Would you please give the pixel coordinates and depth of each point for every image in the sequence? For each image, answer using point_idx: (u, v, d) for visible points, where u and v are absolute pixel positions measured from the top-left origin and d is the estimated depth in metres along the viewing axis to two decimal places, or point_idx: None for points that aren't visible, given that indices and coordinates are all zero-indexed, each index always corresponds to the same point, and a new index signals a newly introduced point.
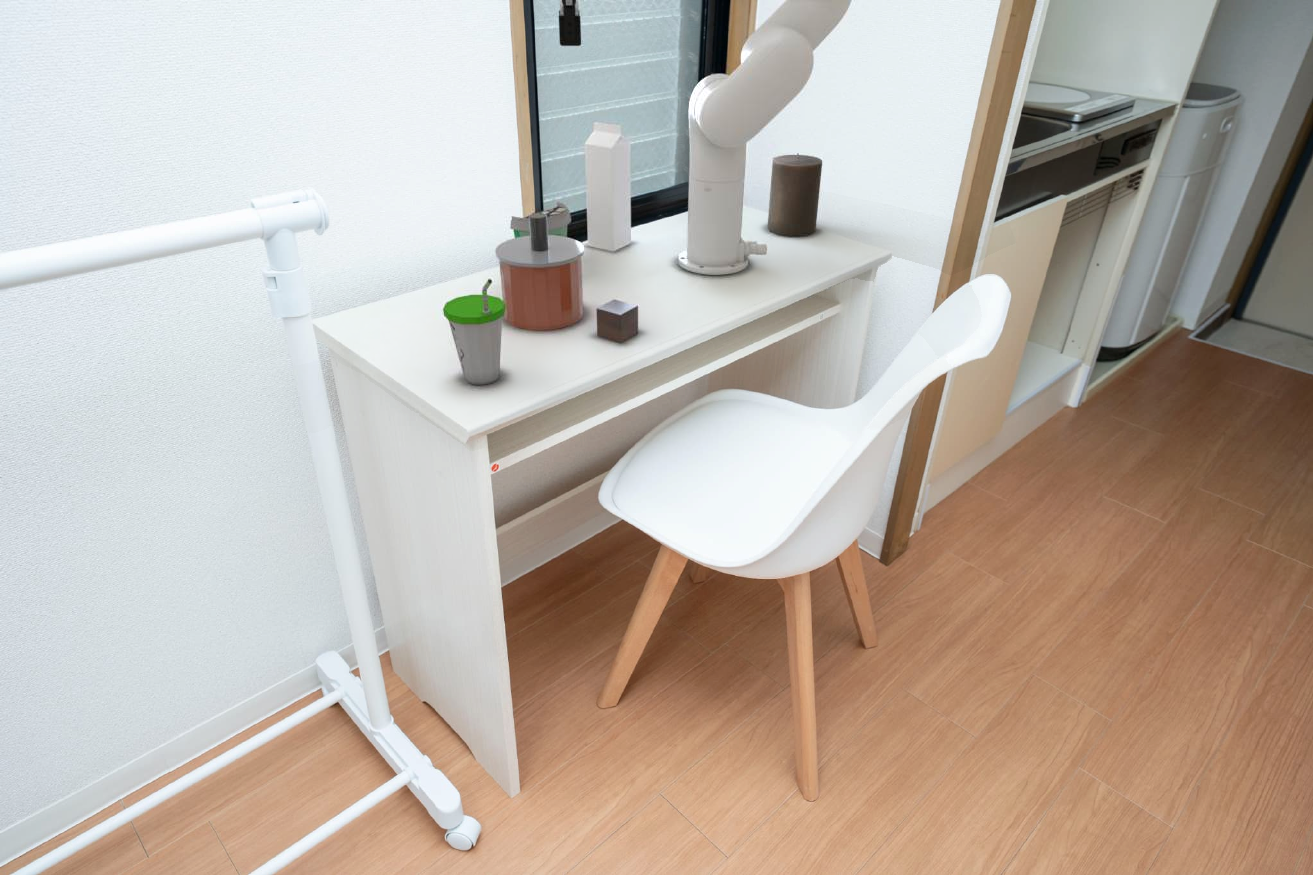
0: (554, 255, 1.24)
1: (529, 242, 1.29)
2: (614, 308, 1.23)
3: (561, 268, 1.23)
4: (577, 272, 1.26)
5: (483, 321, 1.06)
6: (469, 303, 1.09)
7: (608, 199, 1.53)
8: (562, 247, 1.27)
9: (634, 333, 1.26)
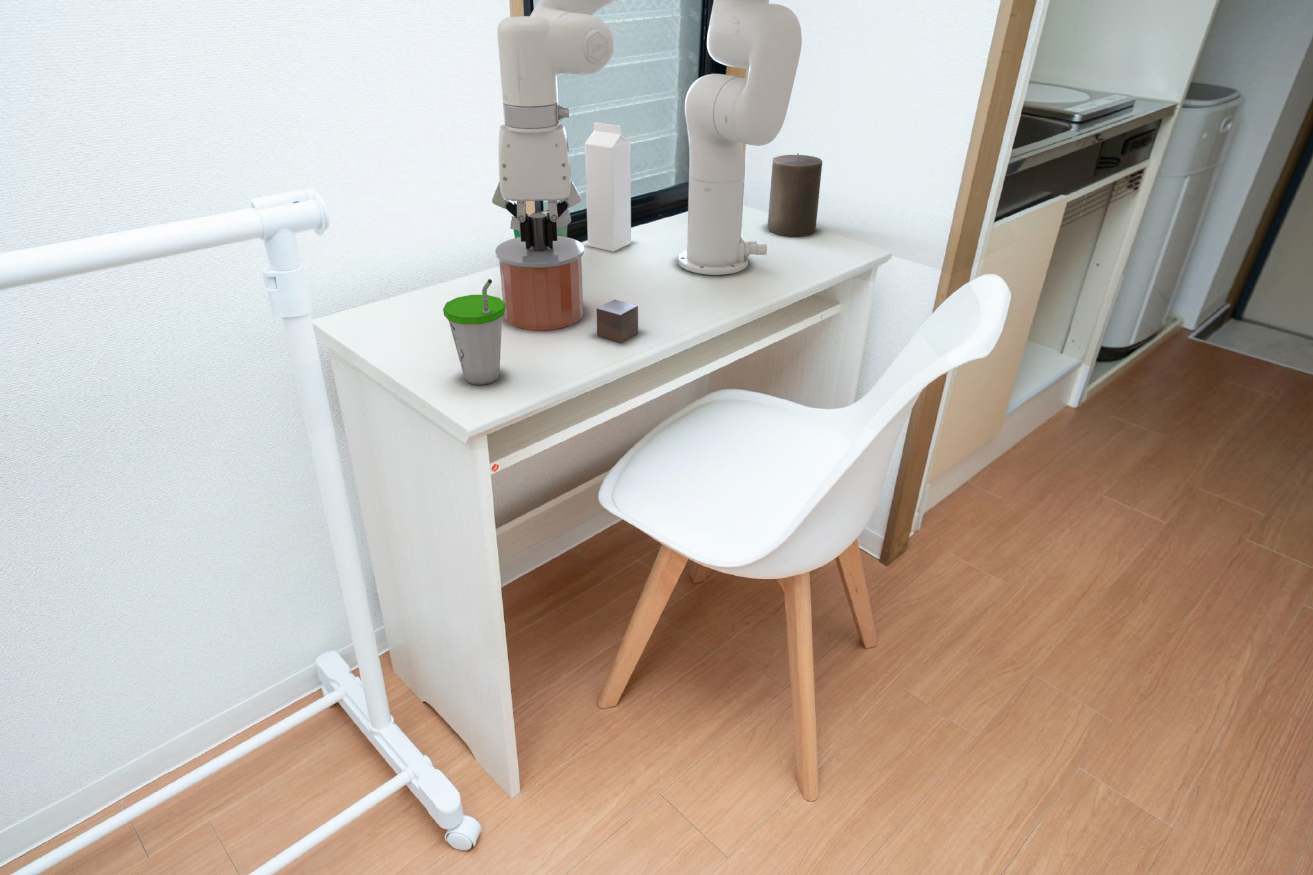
0: (554, 255, 1.24)
1: None
2: (614, 308, 1.23)
3: (561, 268, 1.23)
4: (577, 272, 1.26)
5: (483, 321, 1.06)
6: (469, 303, 1.09)
7: (608, 199, 1.53)
8: (562, 247, 1.27)
9: (634, 333, 1.26)
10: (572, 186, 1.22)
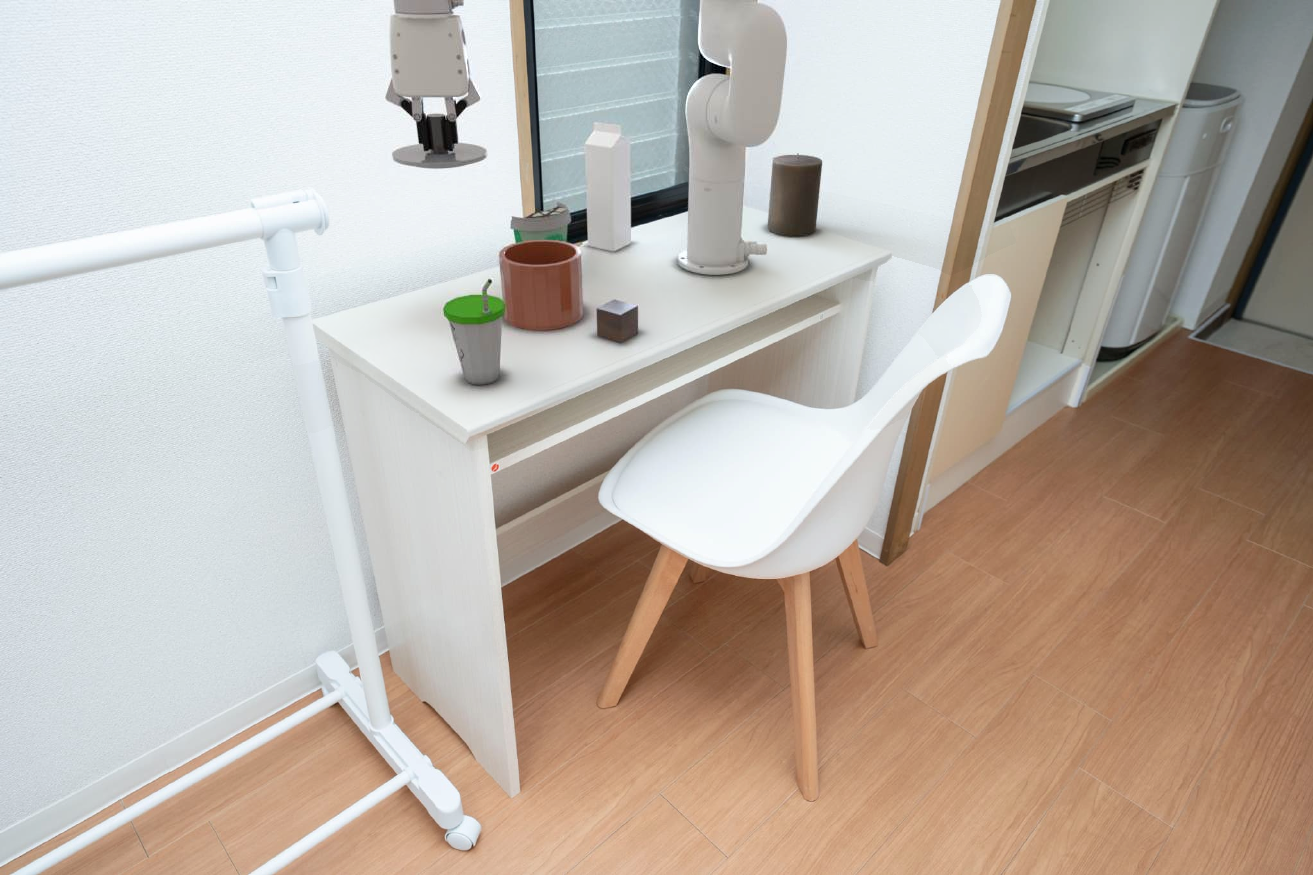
0: (453, 157, 1.18)
1: None
2: (614, 308, 1.23)
3: (561, 268, 1.23)
4: (577, 272, 1.26)
5: (483, 321, 1.06)
6: (469, 303, 1.09)
7: (608, 199, 1.53)
8: (464, 152, 1.21)
9: (634, 333, 1.26)
10: (470, 83, 1.16)
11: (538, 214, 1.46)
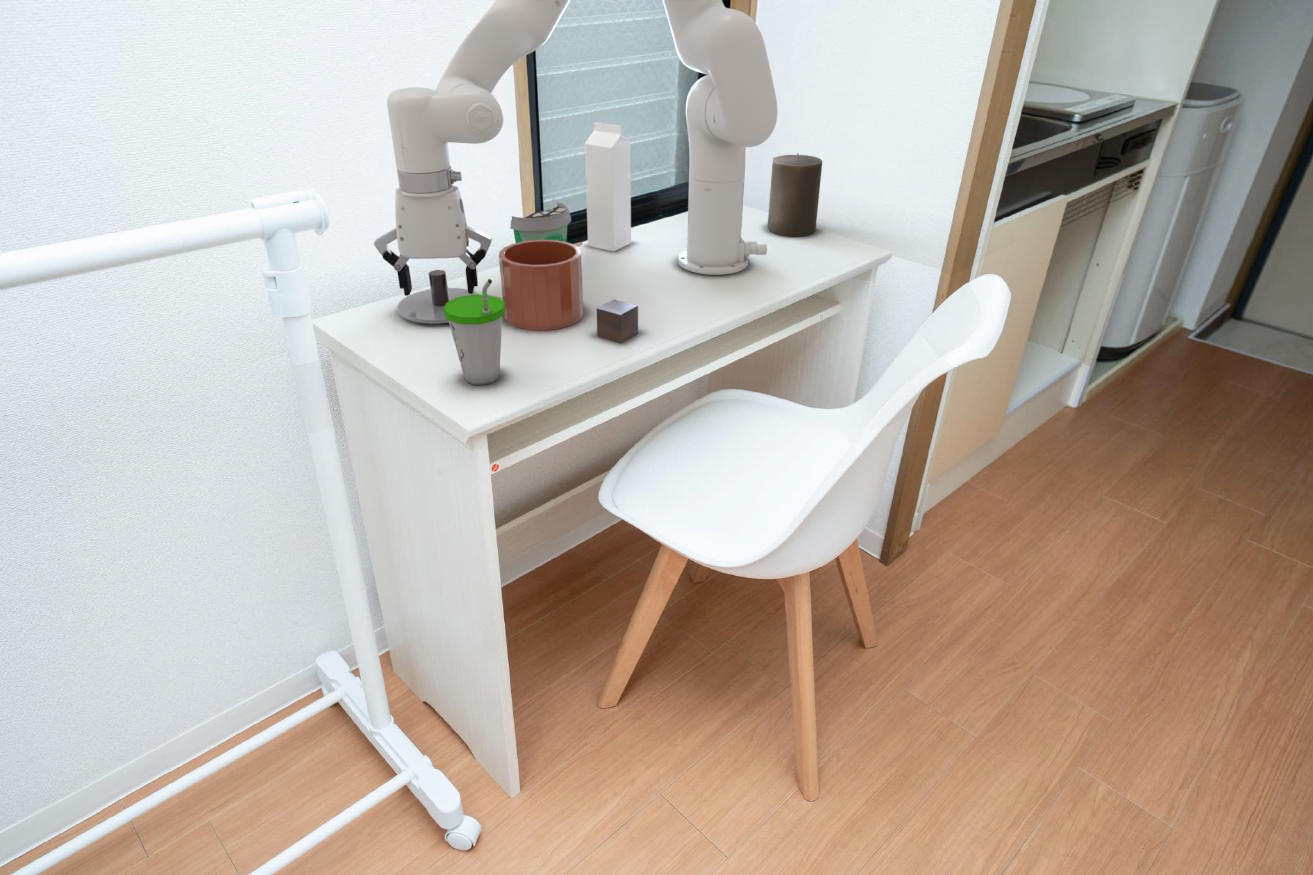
0: None
1: None
2: (614, 308, 1.23)
3: (561, 268, 1.23)
4: (577, 272, 1.26)
5: (483, 321, 1.06)
6: (469, 303, 1.09)
7: (608, 199, 1.53)
8: None
9: (634, 333, 1.26)
10: (476, 234, 1.27)
11: (538, 214, 1.46)
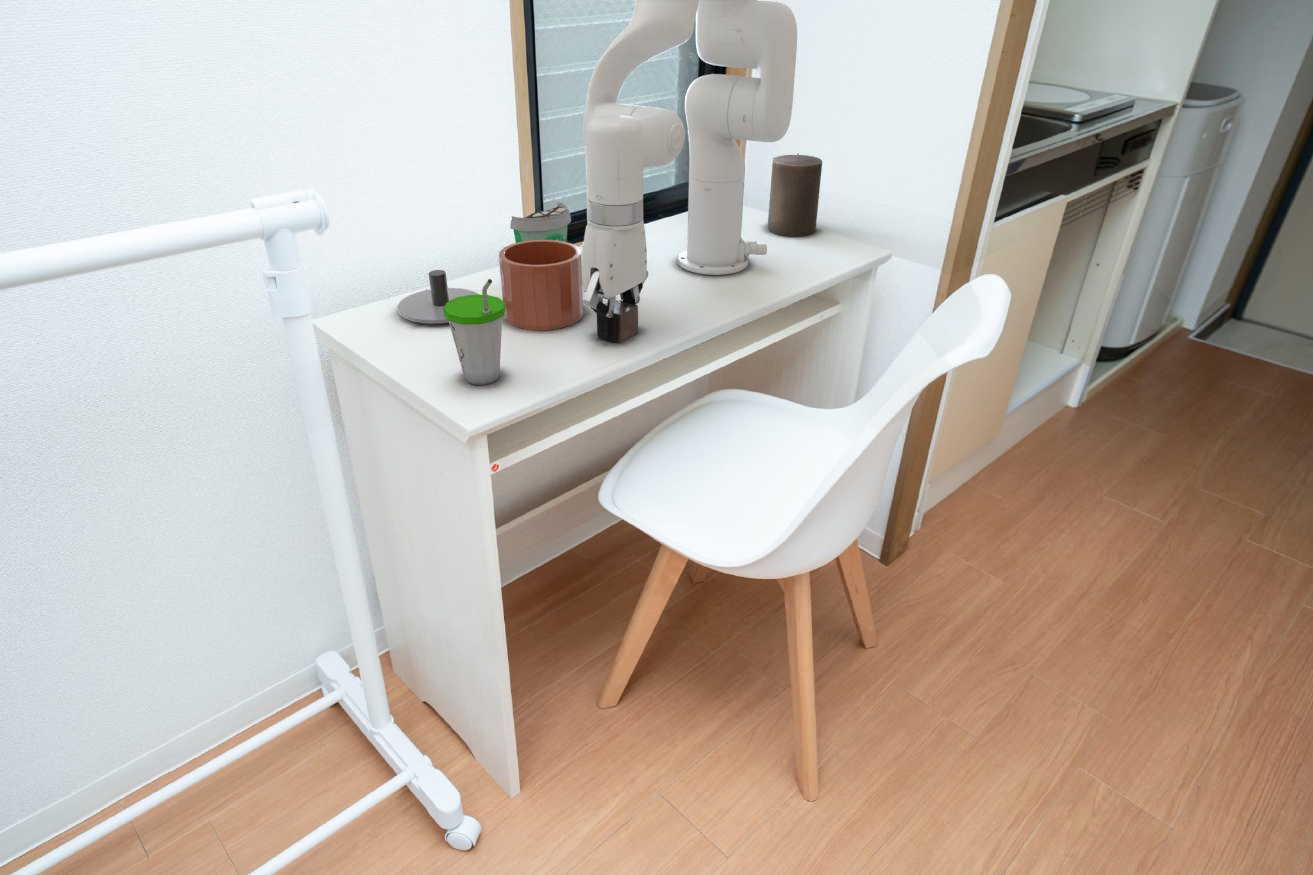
0: None
1: None
2: (614, 308, 1.23)
3: (561, 268, 1.23)
4: (577, 272, 1.26)
5: (483, 321, 1.06)
6: (469, 303, 1.09)
7: None
8: None
9: (634, 333, 1.26)
10: None
11: (538, 214, 1.46)
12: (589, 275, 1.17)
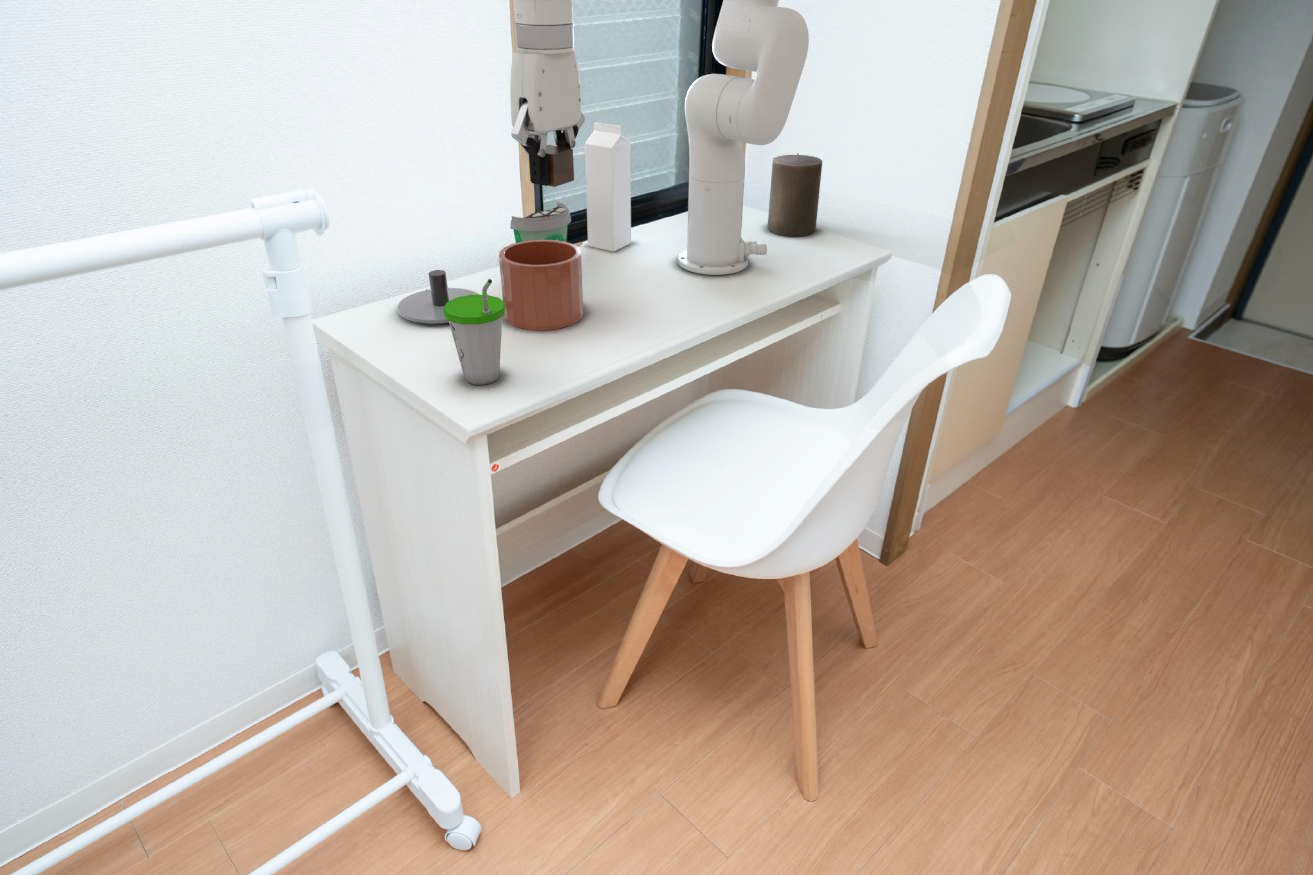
0: None
1: None
2: (548, 150, 1.17)
3: (561, 268, 1.23)
4: (577, 272, 1.26)
5: (483, 321, 1.06)
6: (469, 303, 1.09)
7: (608, 199, 1.53)
8: None
9: (570, 179, 1.20)
10: None
11: (538, 214, 1.46)
12: (518, 107, 1.11)
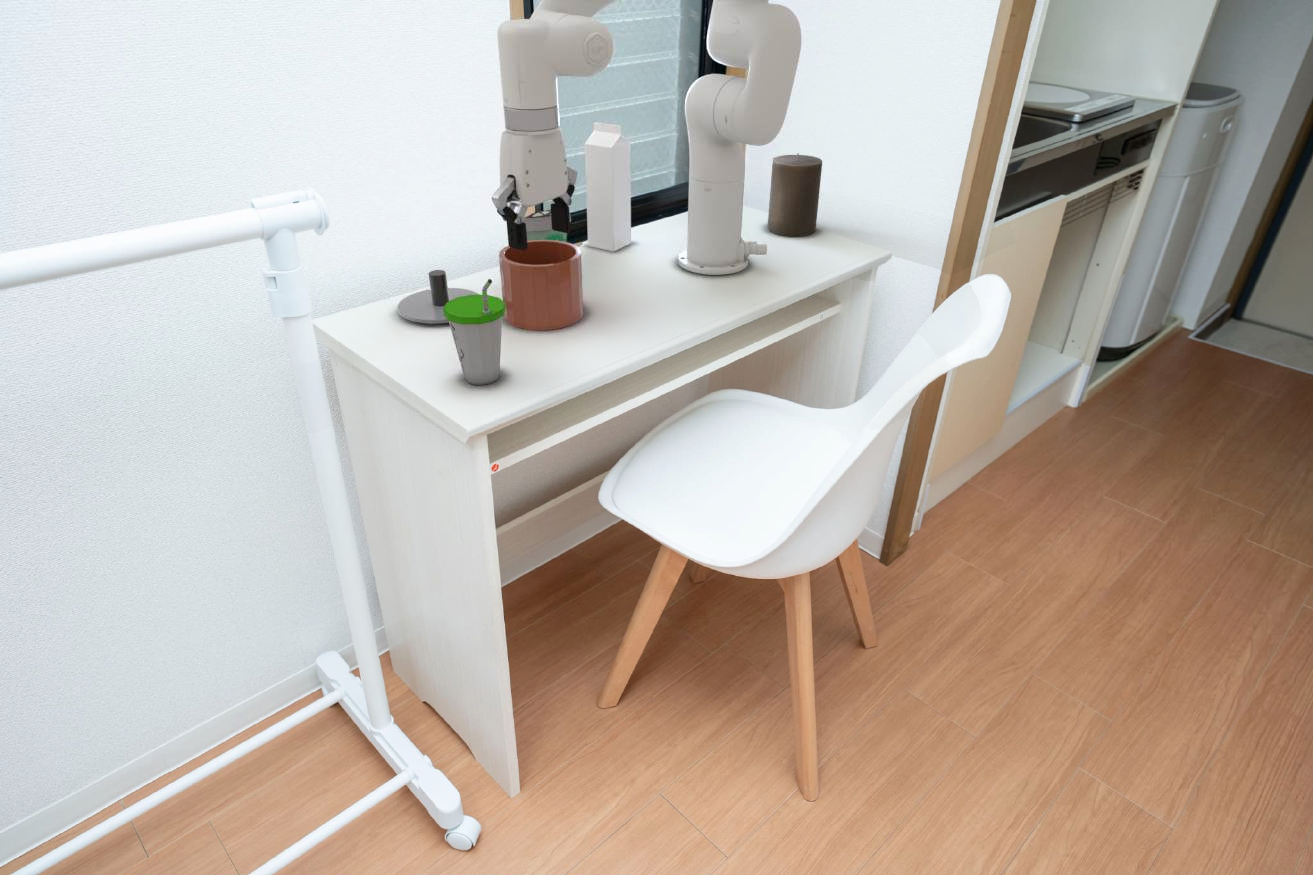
0: None
1: None
2: None
3: (561, 268, 1.23)
4: (577, 272, 1.26)
5: (483, 321, 1.06)
6: (469, 303, 1.09)
7: (608, 199, 1.53)
8: None
9: None
10: (567, 168, 1.26)
11: (538, 214, 1.46)
12: None
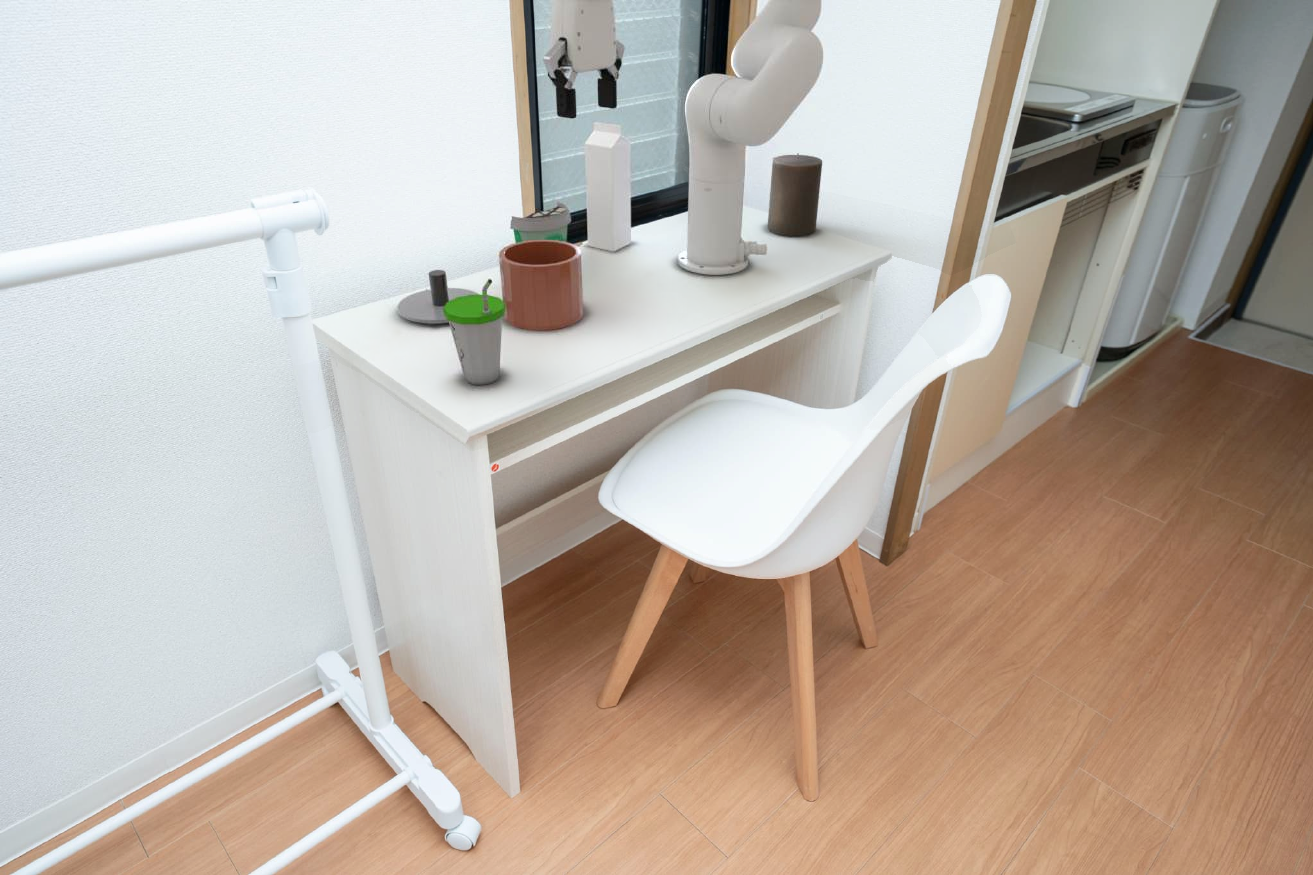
0: None
1: None
2: None
3: (561, 268, 1.23)
4: (577, 272, 1.26)
5: (483, 321, 1.06)
6: (469, 303, 1.09)
7: (608, 199, 1.53)
8: None
9: None
10: (615, 41, 1.26)
11: (538, 214, 1.46)
12: None
